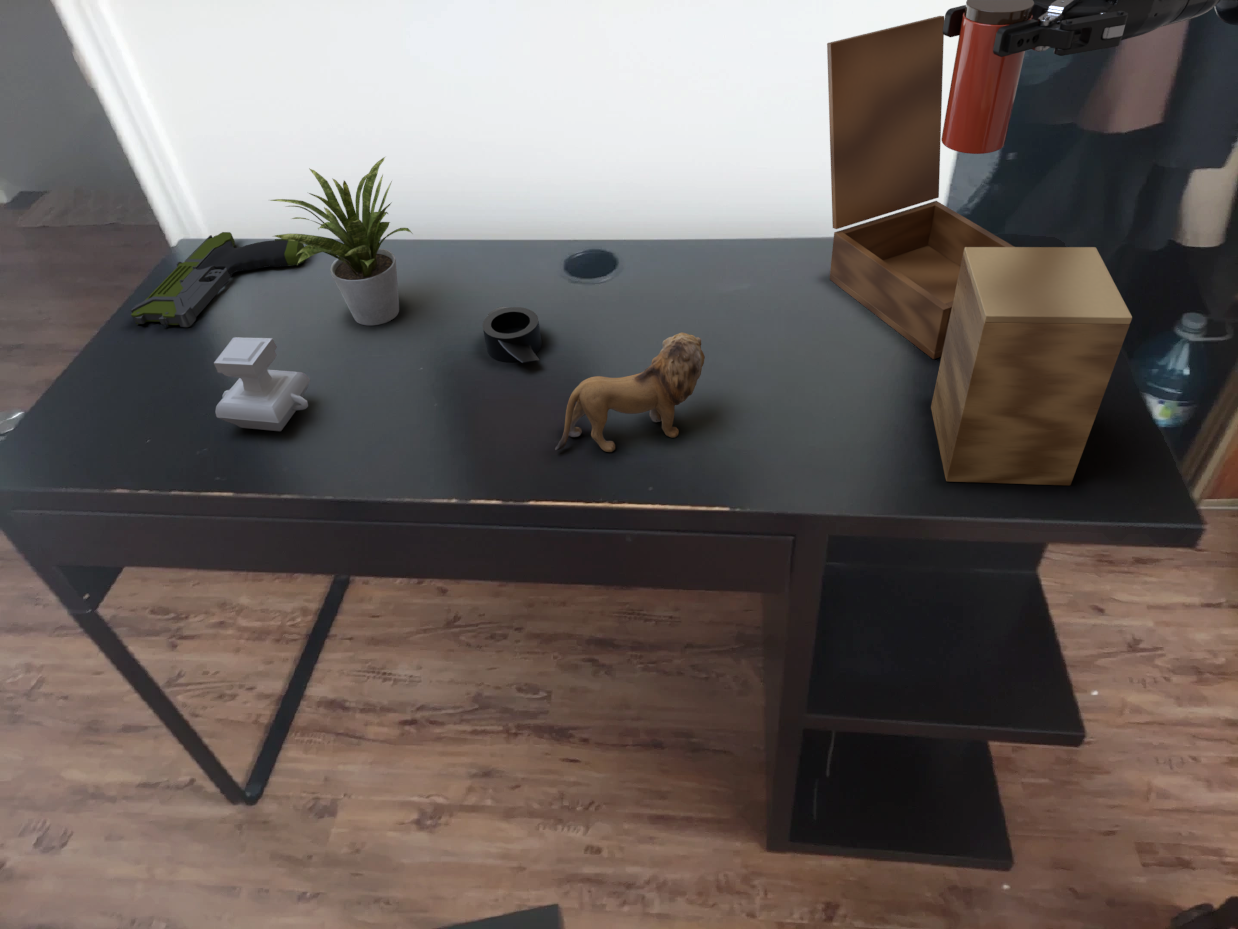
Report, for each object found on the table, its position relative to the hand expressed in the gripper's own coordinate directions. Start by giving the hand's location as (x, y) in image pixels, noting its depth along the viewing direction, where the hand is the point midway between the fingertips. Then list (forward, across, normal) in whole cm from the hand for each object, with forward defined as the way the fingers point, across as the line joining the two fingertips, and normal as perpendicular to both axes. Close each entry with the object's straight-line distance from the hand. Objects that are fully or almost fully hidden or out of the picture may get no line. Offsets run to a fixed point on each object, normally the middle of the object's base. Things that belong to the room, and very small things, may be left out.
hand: (971, 32), depth 78 cm
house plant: (+51, +32, -28) cm, 66 cm away
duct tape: (+40, +16, -28) cm, 51 cm away
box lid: (-2, +12, -12) cm, 17 cm away
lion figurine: (+35, -2, -28) cm, 45 cm away
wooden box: (-2, +2, -28) cm, 28 cm away
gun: (+66, +46, -28) cm, 85 cm away
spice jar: (-2, 0, -10) cm, 10 cm away
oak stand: (+8, -20, -28) cm, 35 cm away
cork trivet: (+8, -20, -12) cm, 24 cm away
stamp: (+65, +17, -28) cm, 73 cm away
